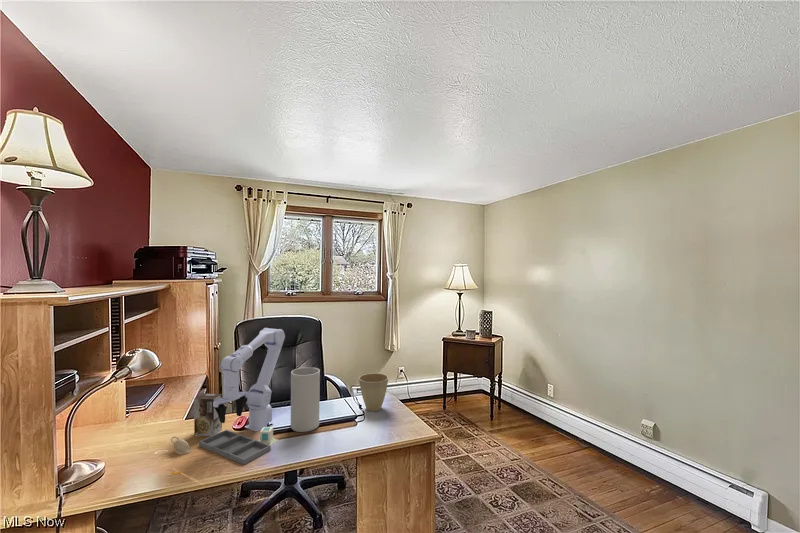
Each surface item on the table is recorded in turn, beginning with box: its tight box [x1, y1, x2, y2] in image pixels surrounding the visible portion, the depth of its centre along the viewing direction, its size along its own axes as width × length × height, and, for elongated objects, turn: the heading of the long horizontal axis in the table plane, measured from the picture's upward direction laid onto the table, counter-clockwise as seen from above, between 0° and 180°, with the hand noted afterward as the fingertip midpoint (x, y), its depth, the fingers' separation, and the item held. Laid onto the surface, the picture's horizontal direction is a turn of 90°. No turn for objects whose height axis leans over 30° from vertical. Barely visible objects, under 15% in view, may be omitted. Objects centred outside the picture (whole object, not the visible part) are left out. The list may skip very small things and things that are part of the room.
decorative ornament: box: [170, 436, 192, 456], centre depth 141 cm, size 4×8×5 cm, turn 61°
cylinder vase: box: [290, 366, 321, 433], centre depth 165 cm, size 12×12×25 cm
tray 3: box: [227, 439, 272, 466], centre depth 140 cm, size 12×9×2 cm
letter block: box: [259, 426, 274, 444], centre depth 150 cm, size 4×4×5 cm
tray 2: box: [212, 434, 255, 459], centre depth 144 cm, size 12×9×2 cm
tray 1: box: [198, 429, 241, 453], centre depth 149 cm, size 12×9×2 cm
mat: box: [257, 437, 280, 446], centre depth 150 cm, size 7×7×1 cm
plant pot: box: [358, 372, 389, 412], centre depth 186 cm, size 15×15×16 cm
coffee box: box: [193, 393, 223, 437], centre depth 157 cm, size 9×6×16 cm
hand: (230, 418), depth 150 cm, fingers open, 7 cm apart
